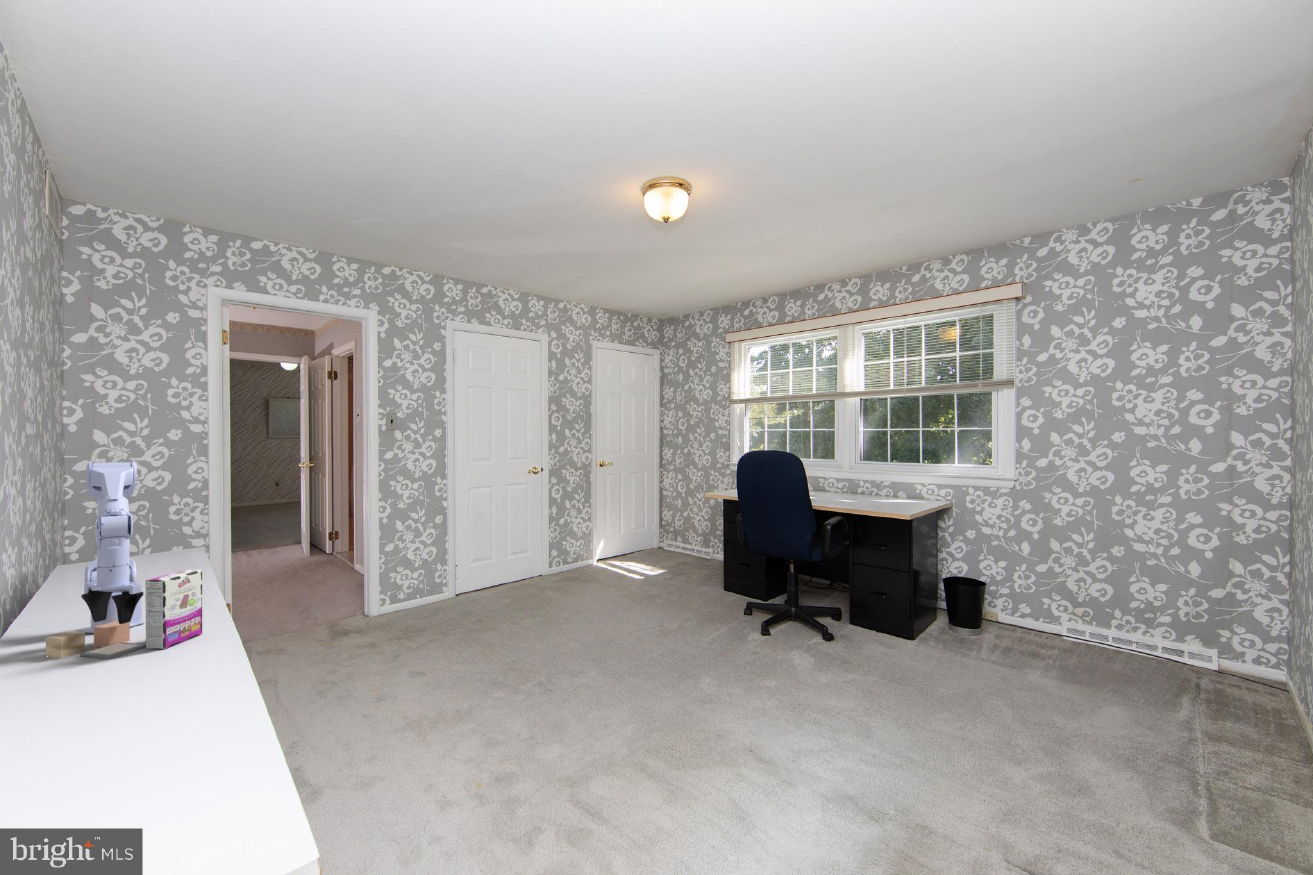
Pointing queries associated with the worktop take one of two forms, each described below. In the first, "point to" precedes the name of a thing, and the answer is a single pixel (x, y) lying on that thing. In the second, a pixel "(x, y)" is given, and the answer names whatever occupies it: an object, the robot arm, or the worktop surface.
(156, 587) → the candy bar box
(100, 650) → the build plate
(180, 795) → the worktop surface
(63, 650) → the maple cube
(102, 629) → the terracotta cube
